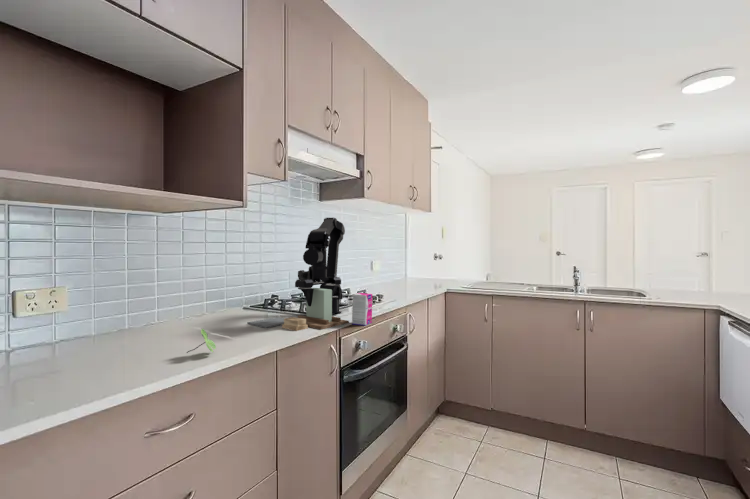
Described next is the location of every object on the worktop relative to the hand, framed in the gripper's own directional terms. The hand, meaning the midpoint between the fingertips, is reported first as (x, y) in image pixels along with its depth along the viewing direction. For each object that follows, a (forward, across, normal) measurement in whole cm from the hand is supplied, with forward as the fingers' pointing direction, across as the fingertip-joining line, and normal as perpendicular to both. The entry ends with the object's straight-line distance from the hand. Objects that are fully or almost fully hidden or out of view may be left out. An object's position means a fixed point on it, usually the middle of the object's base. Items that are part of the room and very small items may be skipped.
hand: (319, 304), depth 146 cm
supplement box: (+7, -9, +14) cm, 18 cm away
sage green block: (+6, 0, 0) cm, 6 cm away
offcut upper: (+6, +12, 0) cm, 13 cm away
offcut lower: (+8, +12, 0) cm, 14 cm away
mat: (+7, +11, -14) cm, 19 cm away
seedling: (+7, +51, +4) cm, 52 cm away
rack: (+7, 0, 0) cm, 7 cm away
